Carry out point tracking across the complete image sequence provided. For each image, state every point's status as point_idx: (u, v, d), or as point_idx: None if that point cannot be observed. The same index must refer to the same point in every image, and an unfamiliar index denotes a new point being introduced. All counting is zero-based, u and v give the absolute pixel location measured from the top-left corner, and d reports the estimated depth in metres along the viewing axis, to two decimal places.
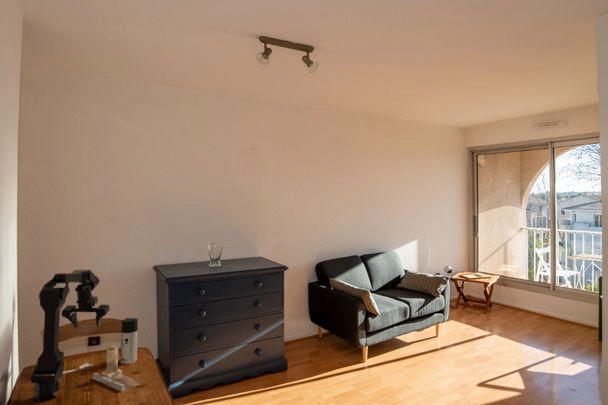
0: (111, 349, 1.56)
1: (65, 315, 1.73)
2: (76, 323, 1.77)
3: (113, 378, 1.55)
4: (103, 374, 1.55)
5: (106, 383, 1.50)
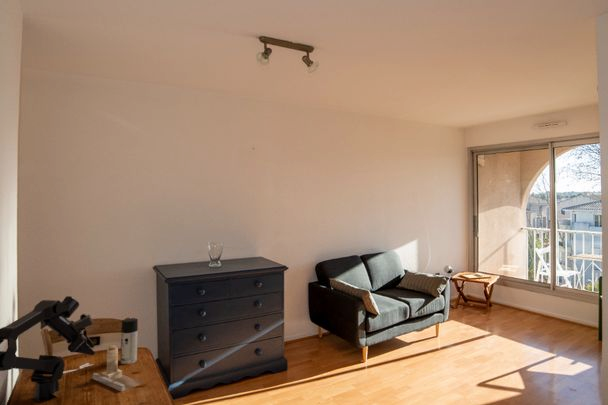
0: (111, 349, 1.56)
1: None
2: (88, 344, 1.57)
3: (113, 378, 1.55)
4: (103, 374, 1.55)
5: (106, 383, 1.50)
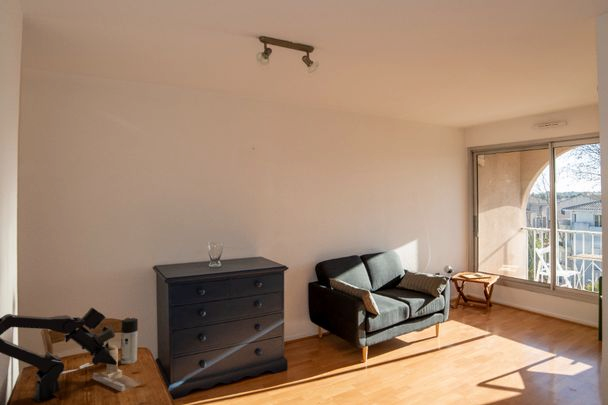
0: (111, 349, 1.56)
1: None
2: None
3: (113, 378, 1.55)
4: (103, 374, 1.55)
5: (106, 383, 1.50)
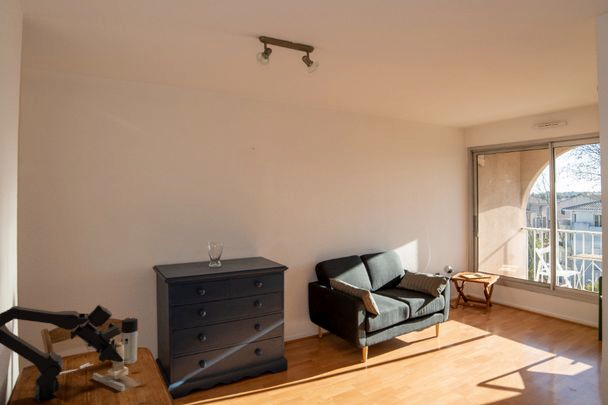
0: (117, 346, 1.54)
1: None
2: None
3: (119, 375, 1.53)
4: (109, 371, 1.53)
5: (106, 383, 1.50)
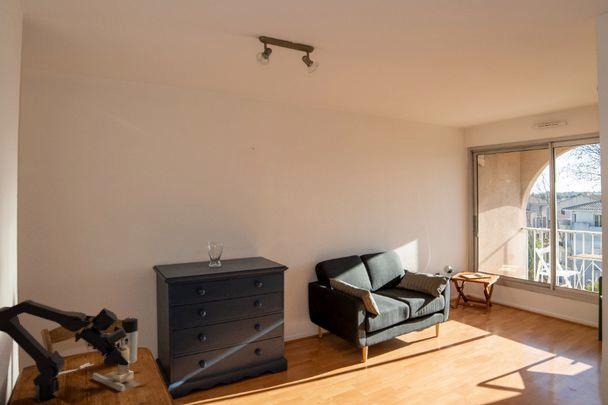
0: (123, 349, 1.52)
1: None
2: None
3: (124, 379, 1.50)
4: (114, 375, 1.51)
5: (106, 383, 1.50)
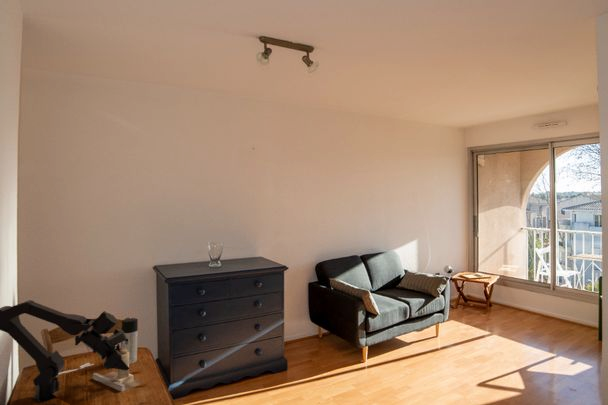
0: (122, 353, 1.51)
1: None
2: None
3: (124, 383, 1.50)
4: (114, 379, 1.51)
5: (106, 383, 1.50)
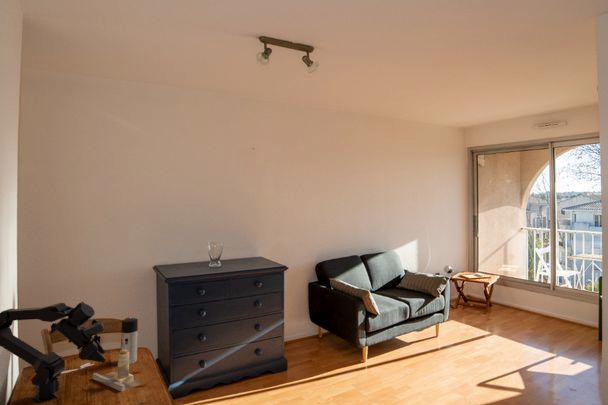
0: (122, 353, 1.51)
1: None
2: (99, 350, 1.53)
3: (124, 383, 1.50)
4: (114, 379, 1.51)
5: (106, 383, 1.50)
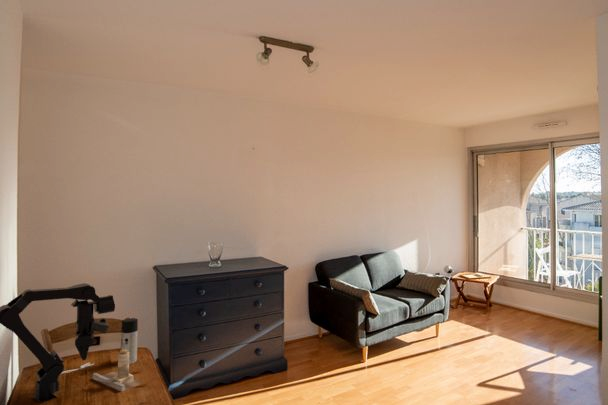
0: (122, 353, 1.51)
1: None
2: None
3: (124, 383, 1.50)
4: (114, 379, 1.51)
5: (106, 383, 1.50)
